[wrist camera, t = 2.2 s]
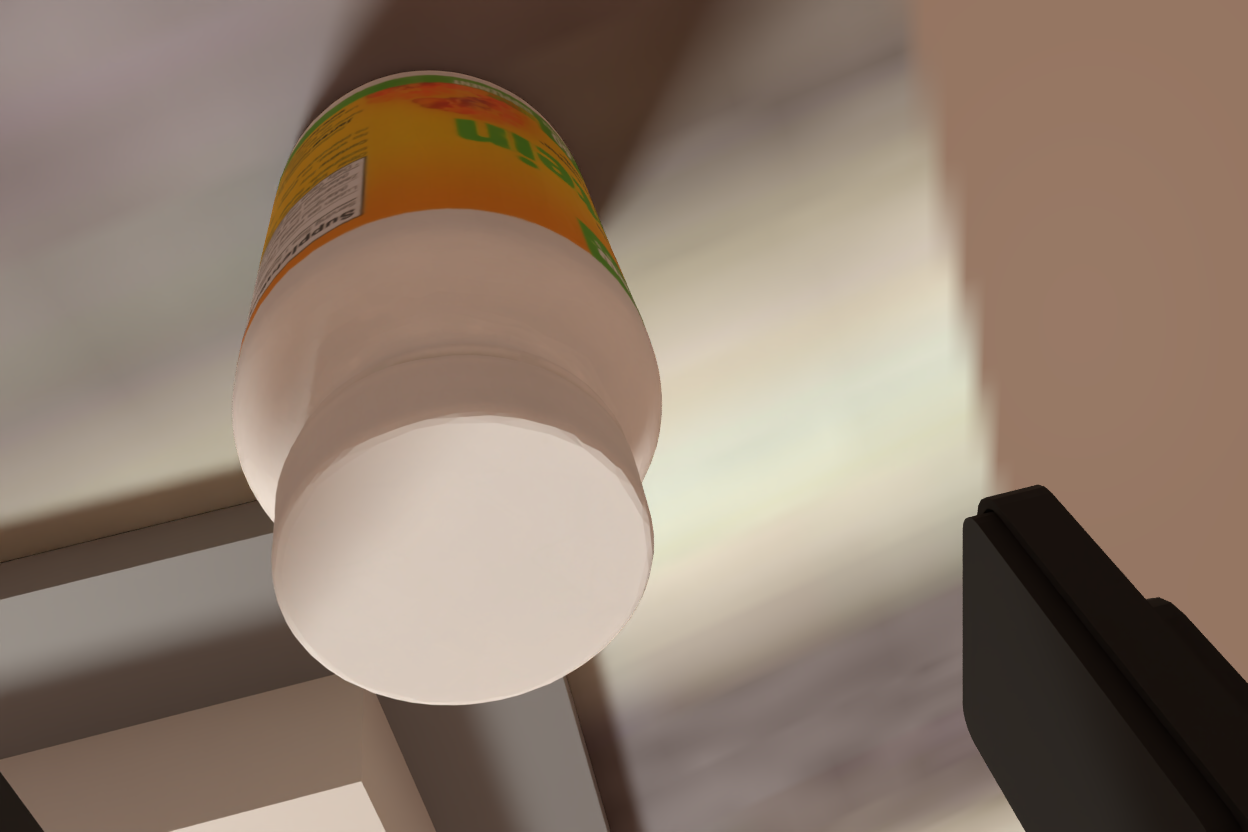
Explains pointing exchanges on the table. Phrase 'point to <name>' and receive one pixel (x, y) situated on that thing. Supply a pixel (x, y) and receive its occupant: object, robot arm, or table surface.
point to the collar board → (245, 707)
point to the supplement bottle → (446, 398)
